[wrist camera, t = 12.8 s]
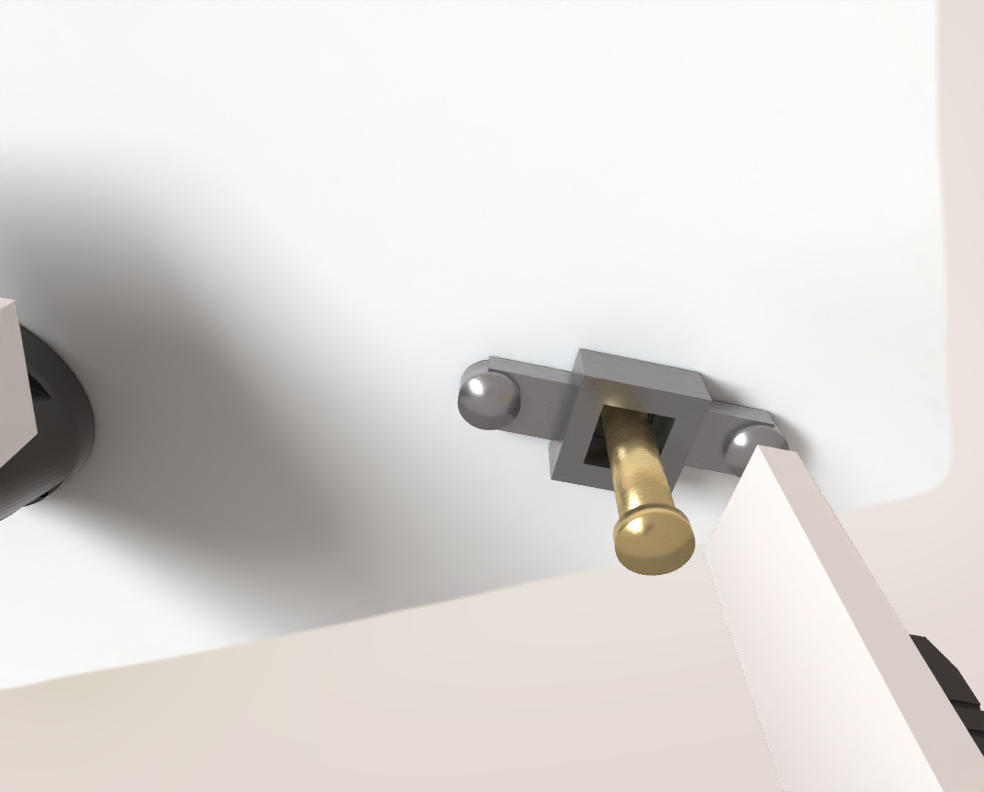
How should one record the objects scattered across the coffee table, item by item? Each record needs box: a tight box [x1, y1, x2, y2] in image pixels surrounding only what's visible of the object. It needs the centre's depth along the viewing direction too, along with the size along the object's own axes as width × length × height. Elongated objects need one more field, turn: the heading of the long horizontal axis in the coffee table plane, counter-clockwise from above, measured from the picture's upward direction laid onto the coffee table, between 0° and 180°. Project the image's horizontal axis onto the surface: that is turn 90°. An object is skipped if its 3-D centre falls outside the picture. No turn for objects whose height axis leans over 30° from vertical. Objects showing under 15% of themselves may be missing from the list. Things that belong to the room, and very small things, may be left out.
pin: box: [601, 404, 695, 575], centre depth 40 cm, size 4×4×13 cm
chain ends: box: [458, 349, 789, 493], centre depth 44 cm, size 22×8×4 cm, turn 78°
